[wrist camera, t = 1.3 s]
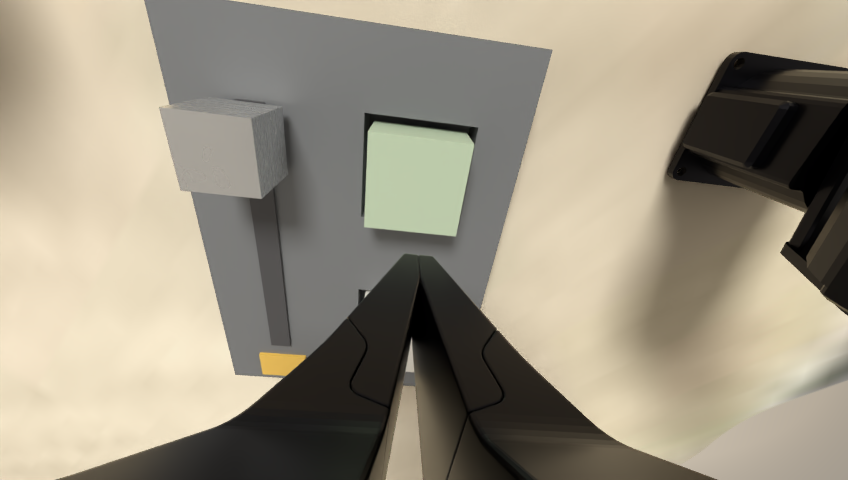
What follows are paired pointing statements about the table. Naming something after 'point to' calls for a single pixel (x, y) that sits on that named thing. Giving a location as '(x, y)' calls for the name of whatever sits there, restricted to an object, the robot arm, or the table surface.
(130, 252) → the table surface
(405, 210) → the sage button
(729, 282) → the table surface
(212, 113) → the slider knob
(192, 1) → the control panel
